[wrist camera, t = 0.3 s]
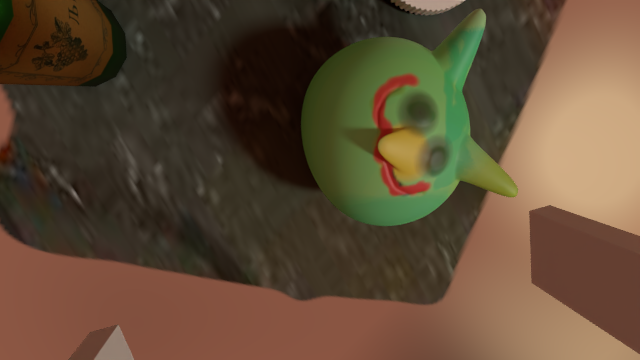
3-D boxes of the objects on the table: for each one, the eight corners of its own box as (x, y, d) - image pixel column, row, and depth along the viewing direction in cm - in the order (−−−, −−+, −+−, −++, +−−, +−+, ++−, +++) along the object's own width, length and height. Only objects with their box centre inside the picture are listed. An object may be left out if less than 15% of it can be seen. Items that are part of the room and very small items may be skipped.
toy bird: (275, 74, 34) (280, 50, 20) (415, 32, 35) (512, -19, 21) (322, 219, 39) (352, 282, 25) (443, 176, 40) (539, 213, 26)
